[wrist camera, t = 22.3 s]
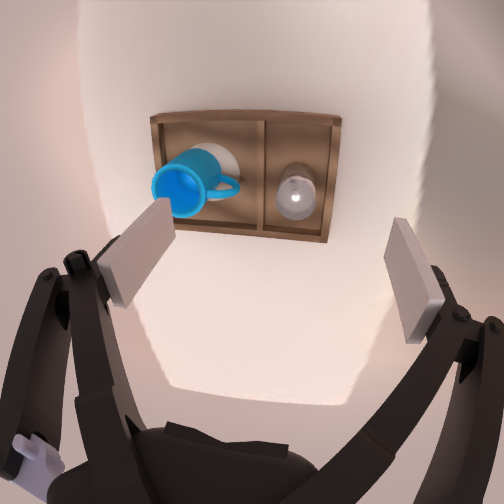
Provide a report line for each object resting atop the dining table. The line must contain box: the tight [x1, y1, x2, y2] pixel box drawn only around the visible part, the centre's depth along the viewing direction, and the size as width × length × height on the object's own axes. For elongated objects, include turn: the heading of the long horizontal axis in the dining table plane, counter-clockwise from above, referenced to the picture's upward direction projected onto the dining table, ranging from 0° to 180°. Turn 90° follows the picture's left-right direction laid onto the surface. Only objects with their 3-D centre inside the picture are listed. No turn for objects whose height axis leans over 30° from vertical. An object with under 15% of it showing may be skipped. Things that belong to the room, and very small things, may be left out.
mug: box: [151, 148, 240, 218], centre depth 41 cm, size 12×8×8 cm
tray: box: [150, 110, 342, 243], centre depth 43 cm, size 20×28×3 cm
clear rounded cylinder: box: [276, 162, 316, 220], centre depth 39 cm, size 5×5×9 cm
